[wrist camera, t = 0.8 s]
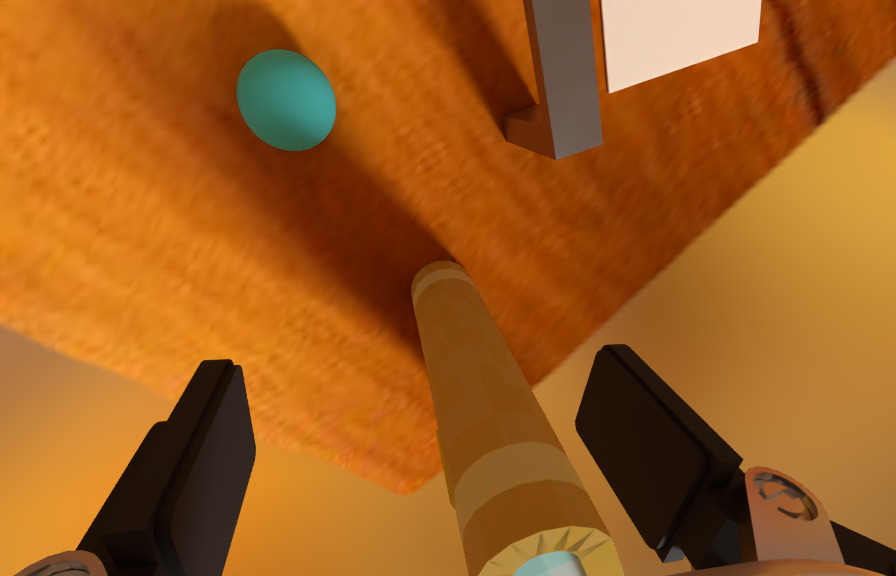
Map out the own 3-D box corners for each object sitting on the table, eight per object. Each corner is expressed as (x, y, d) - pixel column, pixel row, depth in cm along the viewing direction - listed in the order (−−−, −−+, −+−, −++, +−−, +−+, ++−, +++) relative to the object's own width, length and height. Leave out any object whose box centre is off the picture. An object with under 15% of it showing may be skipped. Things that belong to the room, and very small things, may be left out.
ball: (233, 69, 27) (200, 64, 22) (317, 41, 27) (304, 29, 22) (276, 156, 30) (257, 170, 24) (351, 130, 30) (348, 139, 25)
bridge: (506, 141, 32) (556, 160, 24) (457, -96, 25) (502, -192, 17) (540, 129, 32) (602, 144, 24) (501, -111, 25) (569, -214, 17)
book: (516, 376, 44) (664, 663, 22) (461, 400, 44) (553, 709, 22) (463, 248, 36) (613, 500, 14) (396, 278, 36) (439, 575, 14)
